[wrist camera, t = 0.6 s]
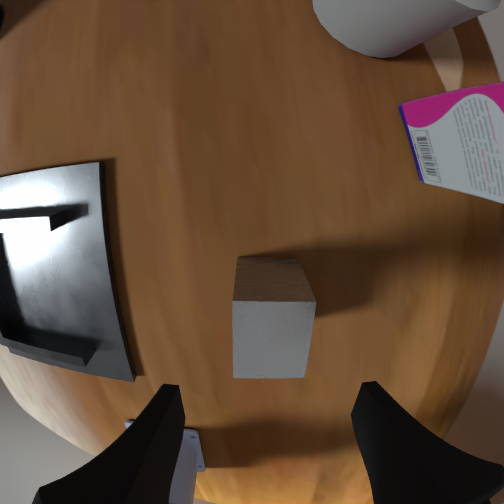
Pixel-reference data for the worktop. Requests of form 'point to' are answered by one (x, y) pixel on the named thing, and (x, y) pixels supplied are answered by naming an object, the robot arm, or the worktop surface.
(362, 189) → the worktop surface
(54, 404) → the worktop surface
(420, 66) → the worktop surface
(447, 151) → the supplement box
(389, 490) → the robot arm
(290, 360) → the block
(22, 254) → the cradle
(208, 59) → the worktop surface
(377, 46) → the can
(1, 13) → the supplement bottle
